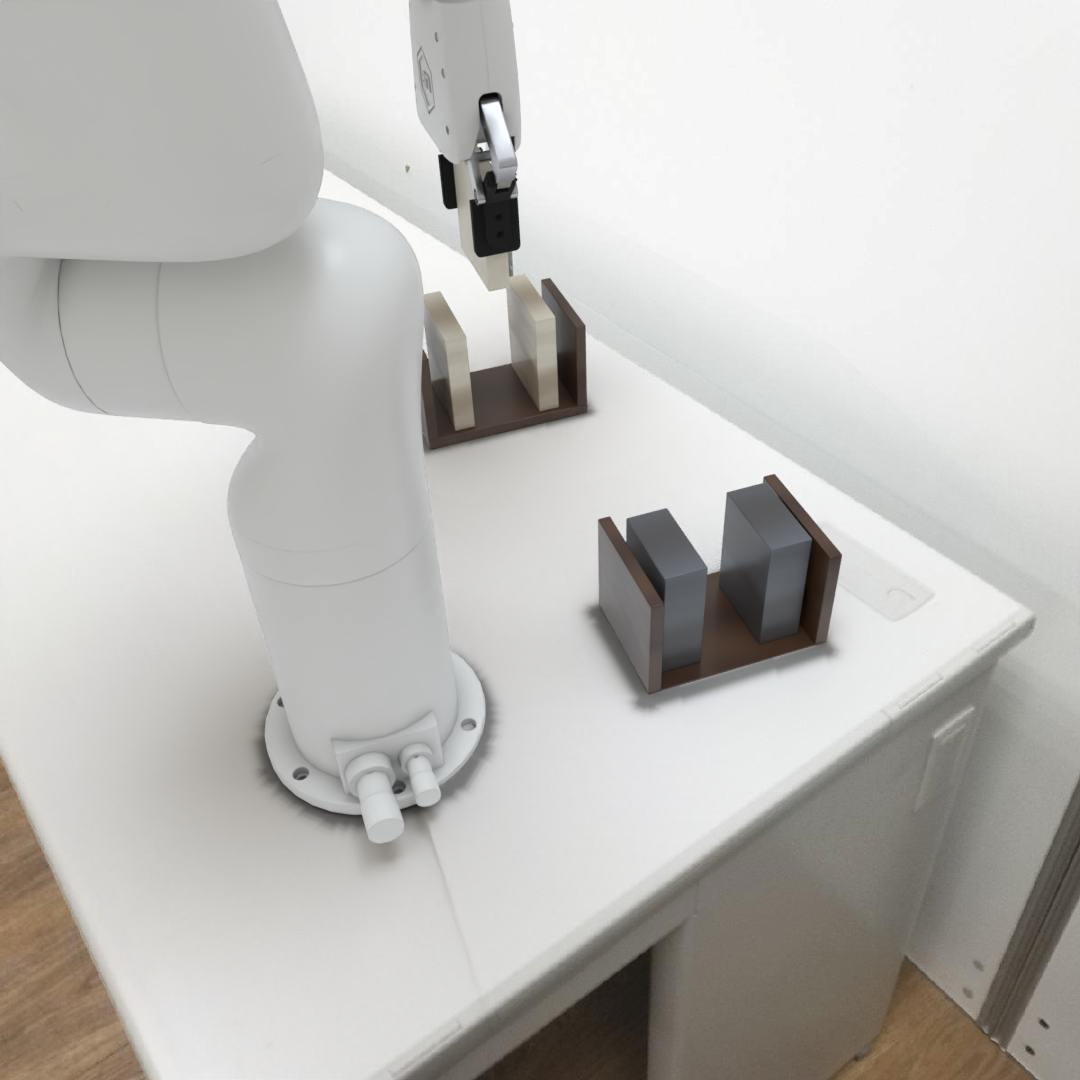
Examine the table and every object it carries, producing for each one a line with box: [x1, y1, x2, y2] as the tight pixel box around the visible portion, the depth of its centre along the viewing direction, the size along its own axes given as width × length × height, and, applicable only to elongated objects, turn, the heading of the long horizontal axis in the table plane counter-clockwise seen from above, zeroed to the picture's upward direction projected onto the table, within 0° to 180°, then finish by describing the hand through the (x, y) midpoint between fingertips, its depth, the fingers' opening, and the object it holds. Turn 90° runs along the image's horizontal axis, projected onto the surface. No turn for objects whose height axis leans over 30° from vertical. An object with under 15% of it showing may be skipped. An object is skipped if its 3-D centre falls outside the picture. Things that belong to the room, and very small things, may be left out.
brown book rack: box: [421, 273, 588, 450], centre depth 86 cm, size 8×13×9 cm, turn 109°
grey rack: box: [597, 473, 843, 695], centre depth 66 cm, size 8×12×8 cm
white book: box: [453, 144, 511, 292], centre depth 79 cm, size 7×2×8 cm, turn 19°
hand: (480, 226), depth 79 cm, fingers closed on white book, 7 cm apart
